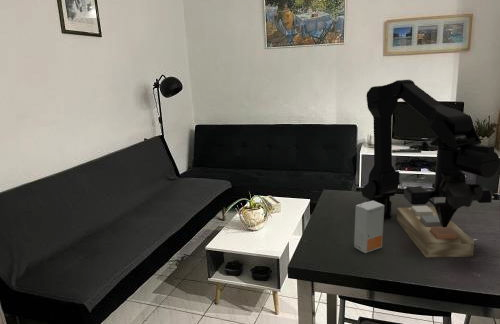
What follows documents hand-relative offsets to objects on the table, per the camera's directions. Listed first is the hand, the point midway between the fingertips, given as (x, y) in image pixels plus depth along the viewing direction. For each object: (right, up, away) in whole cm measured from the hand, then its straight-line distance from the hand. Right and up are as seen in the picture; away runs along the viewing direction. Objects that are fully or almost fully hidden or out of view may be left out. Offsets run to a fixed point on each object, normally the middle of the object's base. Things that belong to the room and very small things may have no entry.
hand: (443, 226), depth 94 cm
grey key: (+1, -1, +7) cm, 8 cm away
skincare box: (-17, -6, +4) cm, 19 cm away
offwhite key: (+1, +1, +14) cm, 14 cm away
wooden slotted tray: (+1, -4, +8) cm, 9 cm away
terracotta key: (0, -3, +1) cm, 3 cm away
